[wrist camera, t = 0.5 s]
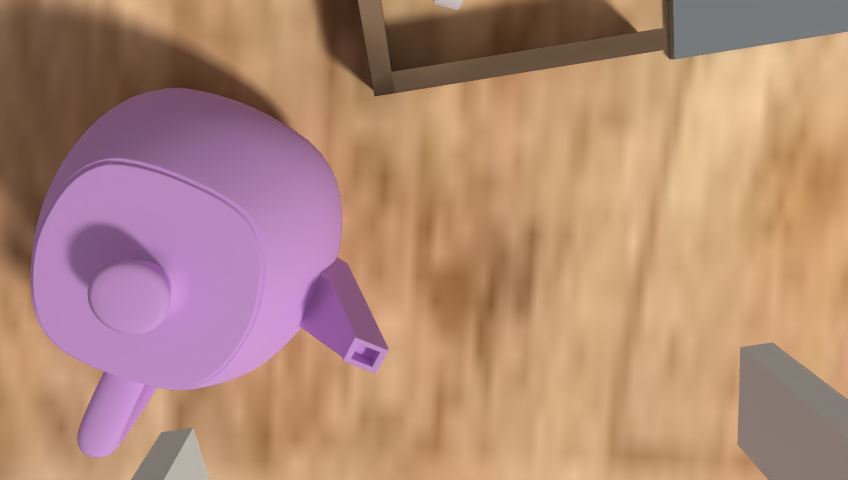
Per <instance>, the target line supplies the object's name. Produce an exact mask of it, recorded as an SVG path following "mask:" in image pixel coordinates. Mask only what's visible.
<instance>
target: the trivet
mask: <svg viewBox="0 0 848 480" xmlns="http://www.w3.org/2000/svg"><path fill="white" fill-rule="evenodd" d="M669 26H670V59H679V58H685V57H691V56H698V55H704V54H710V53H716V52H723V51H729V50H735V49H741V48H747V47H754V46H760V45H766V44H772V43H779V42H785V41H791V40H797V39H804V38H810V37H816V36H822V35H828V34H835V33H841V32H847V31H848V0H669Z"/></svg>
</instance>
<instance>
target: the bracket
mask: <svg viewBox="0 0 848 480" xmlns="http://www.w3.org/2000/svg"><path fill="white" fill-rule="evenodd" d="M358 4H359V10H360V15H361V21H362V27H363V33H364V38H365V44H366V50H367V56H368V61H369V67H370V73H371V79H372V84H373V90H374V96H380V95H386V94H392V93H399V92H405V91H411V90H417V89H424V88H430V87H436V86H442V85H448V84H455V83H461V82H467V81H473V80H480V79H486V78H492V77H498V76H505V75H511V74H517V73H523V72H529V71H536V70H542V69H548V68H554V67H561V66H567V65H573V64H579V63H585V62H592V61H598V60H604V59H610V58H617V57H623V56H629V55H635V54H641V53H648V52H654V51H660V50H666V49H667V34H666V28H661V29H655V30H648V31H642V32H635V33H629V34H623V35H617V36H611V37H604V38H598V39H592V40H586V41H580V42H573V43H567V44H561V45H555V46H549V47H542V48H536V49H530V50H524V51H517V52H511V53H505V54H499V55H493V56H486V57H480V58H474V59H468V60H462V61H455V62H449V63H443V64H437V65H430V66H424V67H418V68H412V69H406V70H399V71H392V65H391V59H390V53H389V47H388V41H387V35H386V29H385V22H384V16H383V10H382V4H381V0H358Z"/></svg>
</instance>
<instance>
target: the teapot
mask: <svg viewBox="0 0 848 480" xmlns="http://www.w3.org/2000/svg"><path fill="white" fill-rule="evenodd" d="M341 233H342V207H341V196H340V192H339V188H338V184H337V180H336V178H335V176H334V174H333V172H332V170H331V167H330V166H329V164H328V163H327V161H326V160H325V158H324V157H323V155H322V154H321V153H320V152H319V151H318V150H317V149H316V148H315V147H314V146H313V145H312V144H311V143H310V142H309V141H308V140H307V139H305V138H304V137H302V136H301V135H300V134H298V133H297V132H296V131H294V130H293V129H291V128H290V127H288V126H286V125H285V124H283V123H281V122H280V121H278V120H276V119H275V118H273V117H272V116H270V115H268V114H266V113H263V112H261V111H259V110H257V109H255V108H253V107H251V106H249V105H246V104H243V103H241V102H238V101H235V100H233V99H230V98H226V97H223V96H219V95H216V94H212V93H209V92H203V91H198V90H193V89H188V88H165V89H160V90H154V91H149V92H145V93H142V94H139V95H137V96H134V97H131V98H129V99H127V100H125V101H123V102H122V103H120V104H118V105H117V106H115V107H114V108H112V109H111V110H109V111H108V112H106V113H105V114H104V115H102V116H101V117H100V118H99V119H98V120H97V121H96V122H95V123H94V124H93V125H92V126H90V127H89V128H88V129H87V131H86V132H85V133H84V134H83V135H82V136H81V138H80V139H79V140H78V141H77V143H76V144H75V145H74V147H73V148H72V149H71V150H70V152H69V153H68V155H67V156H66V158H65V159H64V161H63V162H62V164H61V165H60V167H59V169H58V171H57V173H56V175H55V177H54V179H53V181H52V183H51V185H50V187H49V189H48V192H47V194H46V197H45V200H44V203H43V206H42V208H41V212H40V215H39V219H38V223H37V227H36V231H35V236H34V241H33V248H32V259H31V294H32V302H33V306H34V311H35V314H36V317H37V319H38V322H39V324H40V326H41V328H42V329H43V331H44V332H45V334H46V335H47V337H48V338H49V339H50V340H51V341H52V342H53V343H54V344H55V345H56V346H57V347H59V348H60V349H61V350H62V351H64V352H65V353H67V354H69V355H70V356H72V357H74V358H75V359H77V360H79V361H81V362H83V363H85V364H88V365H90V366H92V367H94V368H97V369H99V370H102V371H104V373H103V375H102V377H101V379H100V381H99V383H98V385H97V388H96V390H95V392H94V394H93V396H92V398H91V401H90V403H89V405H88V407H87V410H86V412H85V414H84V416H83V419H82V422H81V424H80V427H79V431H78V436H77V440H78V446H79V448H80V450H81V451H82V452H83V453H84V454H86V455H88V456H91V457H104V456H107V455H109V454H111V453H112V452H114V451H115V450H116V448H117V447H118V446H119V445H120V444H121V443H122V442H123V440H124V439H125V437H126V436H127V434H128V433H129V431H130V430H131V428H132V427H133V425H134V424H135V422H136V421H137V419H138V418H139V416H140V414H141V413H142V411H143V410H144V408H145V406H146V405H147V403H148V402H149V400H150V398H151V397H152V395H153V393H154V392H155V390H156V388H163V389H171V390H185V389H197V388H202V387H207V386H212V385H216V384H220V383H224V382H226V381H229V380H232V379H235V378H237V377H240V376H243V375H245V374H247V373H248V372H250V371H252V370H254V369H255V368H257V367H259V366H260V365H262V364H264V363H265V362H266V361H267V360H269V359H270V358H271V357H272V356H274V355H275V354H276V353H277V352H278V351H279V350H281V349H282V348H283V347H284V346H285V345H286V344H287V343H288V342H289V341H290V340H291V339H292V338H293V337H294V336H295V334H296V333H297V332H298V331H299V330H300V328H302V329H304V330H306V331H307V332H308V333H310V334H311V335H312V336H314V337H315V338H317V339H318V340H319V341H321V342H322V343H324V344H325V345H326V346H328V347H329V348H330V349H332V350H333V351H335V352H336V353H337V354H339V355H340V356H341V357H343V361H345V362H347V363H350V364H352V365H355V366H357V367H360V368H363V369H365V370H368V371H370V372H373V373H376V372H377V371H378V369H379V367H380V365H381V363H382V361H383V360H384V358H385V356H386V354H387V352H388V346H387V344H386V342H385V340H384V338H383V336H382V334H381V332H380V330H379V328H378V326H377V324H376V322H375V320H374V318H373V315H372V313H371V311H370V309H369V307H368V305H367V303H366V301H365V299H364V297H363V295H362V293H361V291H360V289H359V287H358V284H357V282H356V280H355V278H354V276H353V274H352V272H351V270H350V268H349V266H348V264H347V263H346V262H344V261H342V260H340V259H339V258H337V257H338V253H339V249H340V241H341Z"/></svg>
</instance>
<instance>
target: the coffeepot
mask: <svg viewBox="0 0 848 480" xmlns="http://www.w3.org/2000/svg"><path fill="white" fill-rule="evenodd" d="M462 2H463V0H433V4H436V5H439V6H443V7H447V8H450V9H454V10H458V9H459V8H460V6H461V4H462Z"/></svg>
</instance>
